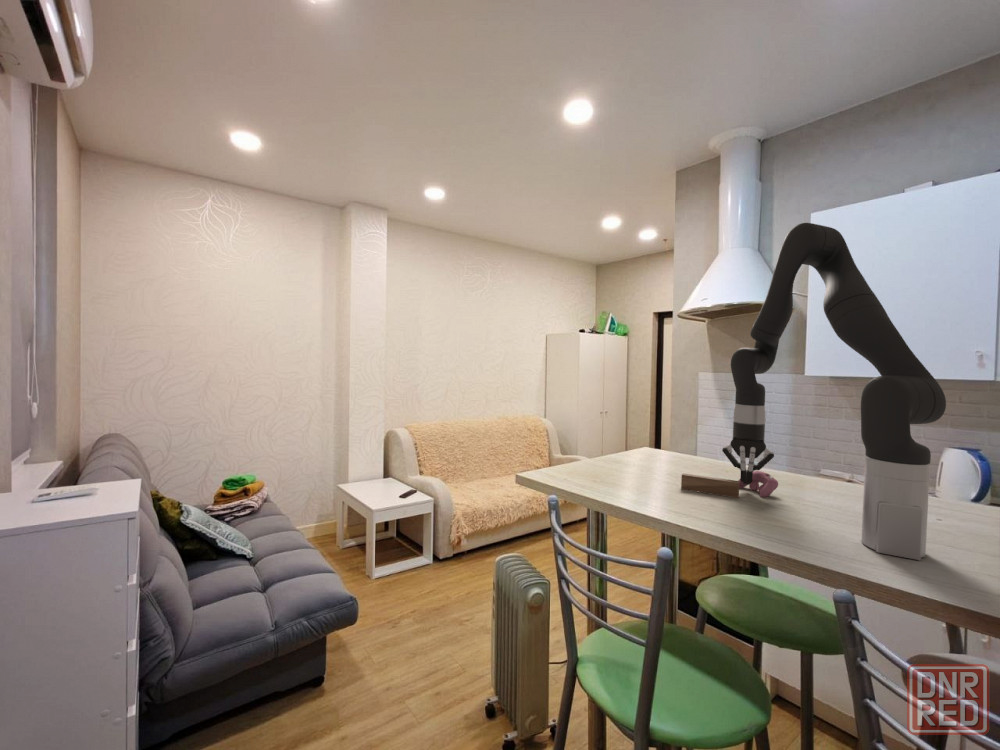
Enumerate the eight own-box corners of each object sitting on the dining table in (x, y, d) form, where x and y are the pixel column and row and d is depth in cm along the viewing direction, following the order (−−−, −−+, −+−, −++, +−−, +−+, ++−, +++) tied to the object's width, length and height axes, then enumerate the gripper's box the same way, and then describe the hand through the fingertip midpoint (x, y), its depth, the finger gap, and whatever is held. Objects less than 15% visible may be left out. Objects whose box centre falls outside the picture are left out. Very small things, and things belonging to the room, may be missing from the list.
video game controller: (773, 503, 116) (784, 479, 117) (761, 496, 115) (771, 472, 116) (744, 492, 126) (754, 470, 127) (732, 486, 125) (742, 464, 126)
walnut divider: (738, 498, 115) (739, 482, 115) (681, 489, 122) (681, 474, 122) (738, 496, 117) (739, 481, 116) (682, 487, 124) (682, 473, 124)
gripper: (720, 420, 120) (718, 483, 121) (777, 425, 114) (774, 491, 114) (723, 417, 127) (720, 477, 127) (777, 421, 120) (774, 484, 121)
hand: (746, 483), depth 121 cm, fingers closed
